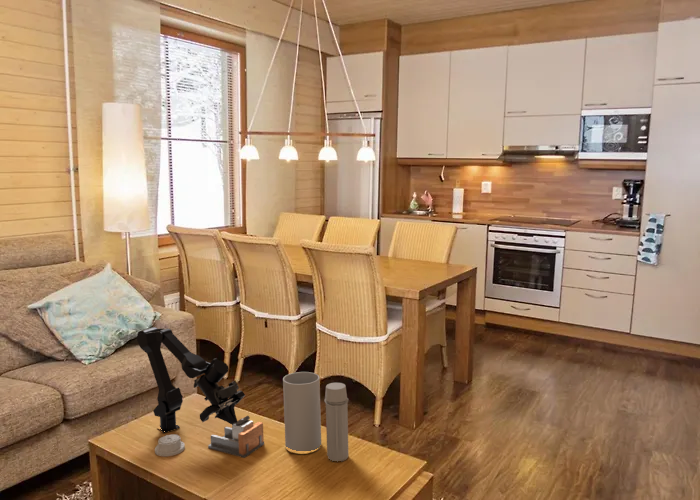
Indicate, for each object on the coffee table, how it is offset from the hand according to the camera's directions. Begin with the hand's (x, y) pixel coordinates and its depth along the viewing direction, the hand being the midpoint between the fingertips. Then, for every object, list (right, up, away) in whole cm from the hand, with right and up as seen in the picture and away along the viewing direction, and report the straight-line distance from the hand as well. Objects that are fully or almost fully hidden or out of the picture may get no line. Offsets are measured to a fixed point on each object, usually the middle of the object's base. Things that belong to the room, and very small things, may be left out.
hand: (236, 425), depth 196 cm
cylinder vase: (+23, -8, 0) cm, 25 cm away
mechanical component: (-23, -9, 0) cm, 25 cm away
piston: (+2, -7, -1) cm, 7 cm away
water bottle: (+36, -9, -10) cm, 38 cm away
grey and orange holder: (0, -8, +1) cm, 8 cm away
